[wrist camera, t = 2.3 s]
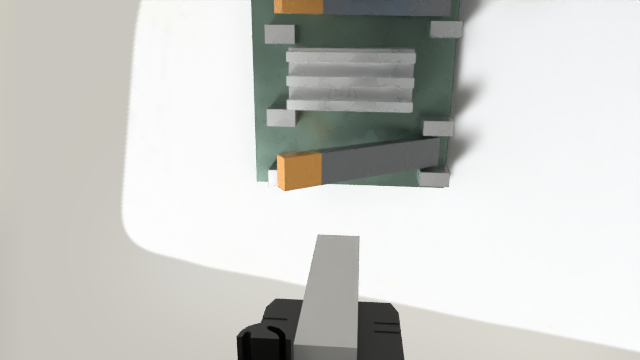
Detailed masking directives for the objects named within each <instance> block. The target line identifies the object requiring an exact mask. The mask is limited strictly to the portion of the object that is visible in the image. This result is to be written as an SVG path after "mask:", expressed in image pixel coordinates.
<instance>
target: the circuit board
mask: <svg viewBox="0 0 640 360" xmlns="http://www.w3.org/2000/svg"><path fill="white" fill-rule="evenodd" d="M459 2H460V0H451V10H450V16H447V17H433V16H384V15H336V14H288V13H274V0H251V7H252V39H253V71H254V102H255V134H256V166H257V181H263V182H268V186H278V179H277V155H278V154H286V153H293V152H301V151H309V150H317V149H325V148H332V147H340V146H348V145H356V144H364V143H372V142H379V141H387V140H395V139H403V138H411V137H418V136H436V137H440V147H439V159H438V165H437V166H431V167H425V168H419V169H413V170H407V171H402V172H396V173H390V174H384V175H378V176H372V177H366V178H360V179H354V180H348V181H342V182H336V183H330V184H349V185H378V186H406V187H435V188H444V187H449V178H450V173H449V171H448V169H447V167H446V155H447V143H448V136H453V132H454V121H453V120H452V118H451V117H450V108H451V96H452V84H453V73H454V61H455V49H456V38H462V30H463V21H458V14H459Z"/></svg>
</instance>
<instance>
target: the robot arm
mask: <svg viewBox="0 0 640 360" xmlns="http://www.w3.org/2000/svg"><path fill="white" fill-rule="evenodd" d="M358 280H359V236H340V235H318V236H317V241H316V245H315V250H314V254H313V259H312V263H311V268H310V272H309V277H308V281H307V286H306V290H305V295H304V299H303V300H293V299H292V300H291V299H275V300H274V301H273V302H272V303H270V305H268V306H267V307H266V310H265V312H264V315H263V319H262V321H261V323H258V324H254V325H251V326H248V327H246V328H245V329H243V330H242V331H241V332H240V333H239V334H238V336H237V352H238V360H404V354H403V346H402V337H401V329H400V321H399V314H398V312H397V310H396V309H395V308H394V307H393V306H392V304H391V303H377V302H358Z"/></svg>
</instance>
